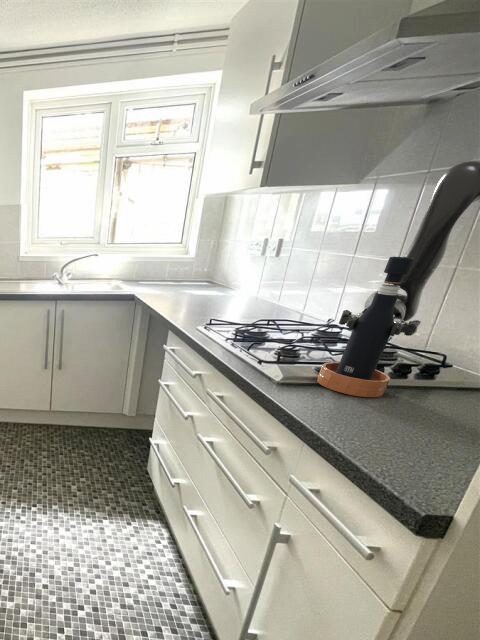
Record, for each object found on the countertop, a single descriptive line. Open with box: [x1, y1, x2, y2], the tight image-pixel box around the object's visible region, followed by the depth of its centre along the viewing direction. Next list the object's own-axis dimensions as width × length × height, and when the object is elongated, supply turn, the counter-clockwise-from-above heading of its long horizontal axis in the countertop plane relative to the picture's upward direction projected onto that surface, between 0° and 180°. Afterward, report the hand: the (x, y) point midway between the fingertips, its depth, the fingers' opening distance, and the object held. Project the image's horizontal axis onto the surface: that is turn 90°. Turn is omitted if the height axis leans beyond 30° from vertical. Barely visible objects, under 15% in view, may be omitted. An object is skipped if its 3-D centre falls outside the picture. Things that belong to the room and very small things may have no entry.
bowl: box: [316, 361, 391, 398], centre depth 100 cm, size 12×12×4 cm
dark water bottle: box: [336, 256, 414, 380], centre depth 94 cm, size 6×6×30 cm
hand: (372, 328), depth 93 cm, fingers closed on dark water bottle, 6 cm apart
